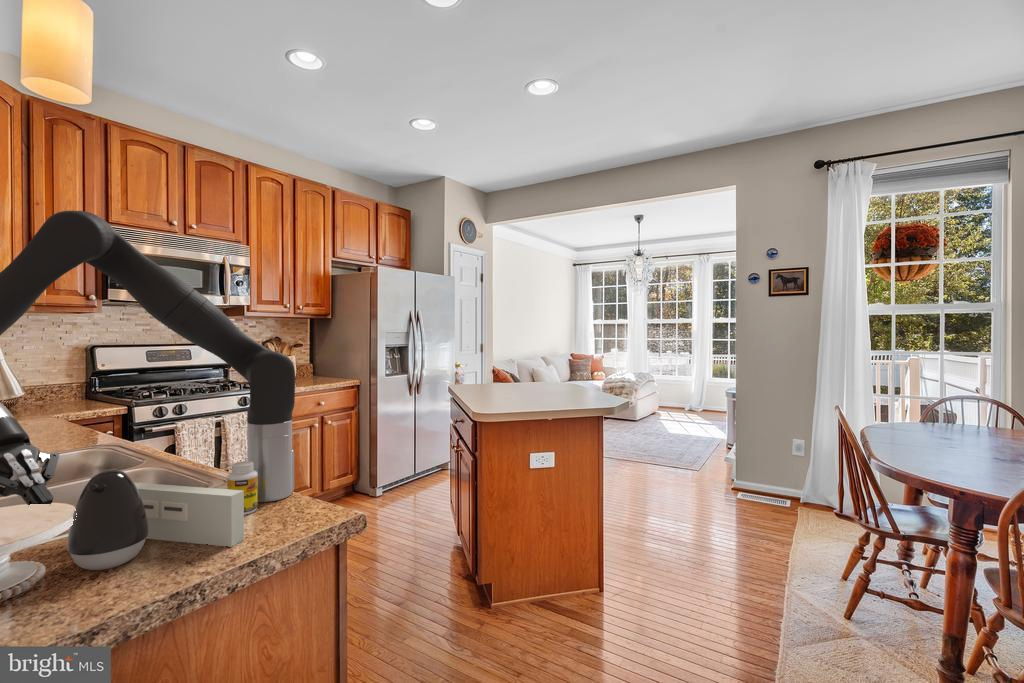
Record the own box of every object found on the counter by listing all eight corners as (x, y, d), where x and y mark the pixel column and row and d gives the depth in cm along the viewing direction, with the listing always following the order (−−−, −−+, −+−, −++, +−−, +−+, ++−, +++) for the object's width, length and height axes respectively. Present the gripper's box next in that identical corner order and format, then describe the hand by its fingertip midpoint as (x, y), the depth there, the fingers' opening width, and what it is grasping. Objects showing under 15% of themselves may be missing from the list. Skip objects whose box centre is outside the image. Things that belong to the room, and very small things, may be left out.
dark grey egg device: (50, 583, 73) (49, 482, 73) (89, 552, 83) (88, 463, 83) (131, 574, 76) (130, 476, 76) (158, 545, 86) (158, 459, 86)
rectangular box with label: (123, 528, 93) (122, 481, 93) (243, 539, 89) (243, 490, 89) (105, 535, 90) (104, 487, 90) (229, 548, 85) (229, 496, 85)
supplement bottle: (231, 519, 98) (231, 468, 98) (224, 511, 102) (223, 463, 102) (261, 512, 102) (261, 463, 102) (253, 505, 106) (252, 458, 106)
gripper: (-53, 422, 77) (10, 505, 75) (42, 409, 90) (98, 479, 88) (-78, 454, 78) (-17, 537, 76) (19, 436, 91) (74, 507, 89)
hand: (45, 506), depth 82 cm, fingers closed
